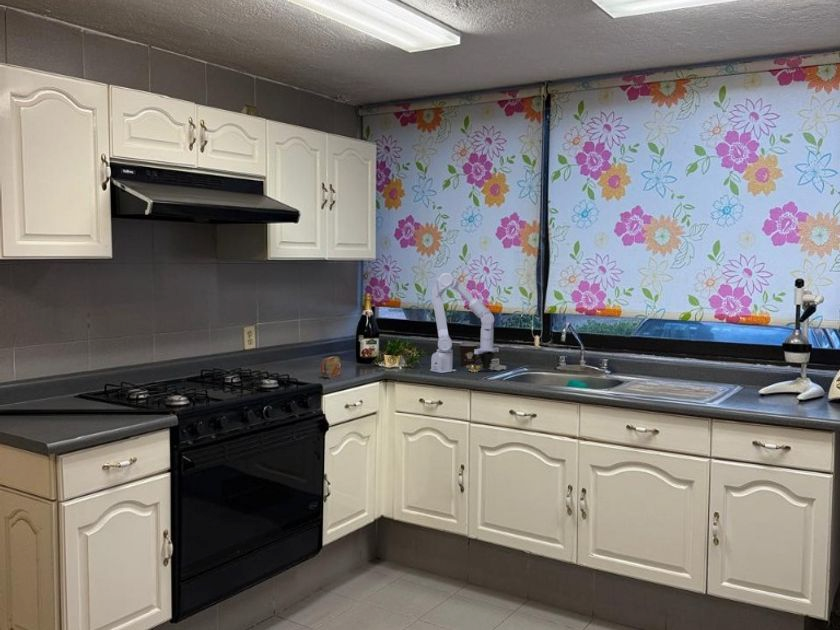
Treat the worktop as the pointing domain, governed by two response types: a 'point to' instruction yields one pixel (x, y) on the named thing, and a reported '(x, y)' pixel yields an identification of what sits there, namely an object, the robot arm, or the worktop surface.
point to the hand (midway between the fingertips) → (486, 368)
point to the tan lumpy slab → (331, 367)
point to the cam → (475, 367)
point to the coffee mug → (467, 354)
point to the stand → (496, 365)
